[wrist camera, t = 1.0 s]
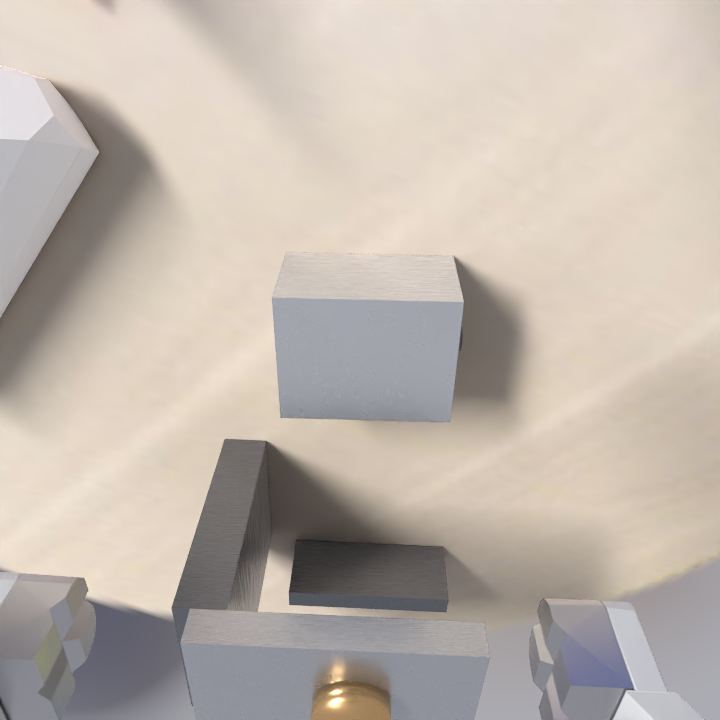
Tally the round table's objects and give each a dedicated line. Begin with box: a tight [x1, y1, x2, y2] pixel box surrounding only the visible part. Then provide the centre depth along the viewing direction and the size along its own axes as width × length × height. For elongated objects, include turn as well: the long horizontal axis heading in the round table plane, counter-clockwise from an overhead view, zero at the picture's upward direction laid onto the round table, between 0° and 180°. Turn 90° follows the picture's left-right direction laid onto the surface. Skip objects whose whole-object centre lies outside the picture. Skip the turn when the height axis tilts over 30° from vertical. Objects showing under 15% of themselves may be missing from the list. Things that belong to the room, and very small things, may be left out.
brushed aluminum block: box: [272, 252, 464, 422], centre depth 38 cm, size 8×10×6 cm
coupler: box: [172, 439, 490, 720], centre depth 42 cm, size 12×17×17 cm
